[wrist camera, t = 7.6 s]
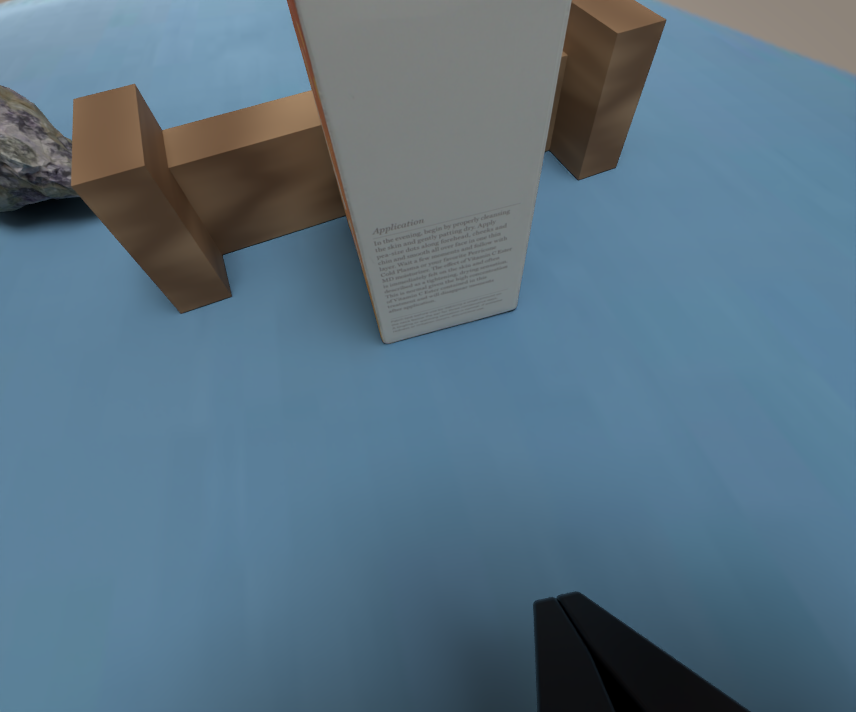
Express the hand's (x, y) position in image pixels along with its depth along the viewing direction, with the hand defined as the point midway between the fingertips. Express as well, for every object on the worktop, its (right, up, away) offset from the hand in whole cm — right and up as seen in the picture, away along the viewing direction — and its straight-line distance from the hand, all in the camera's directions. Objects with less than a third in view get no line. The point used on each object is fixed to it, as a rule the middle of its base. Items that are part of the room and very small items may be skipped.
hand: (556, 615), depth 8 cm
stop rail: (-4, +13, +16) cm, 21 cm away
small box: (-2, +9, +14) cm, 17 cm away
